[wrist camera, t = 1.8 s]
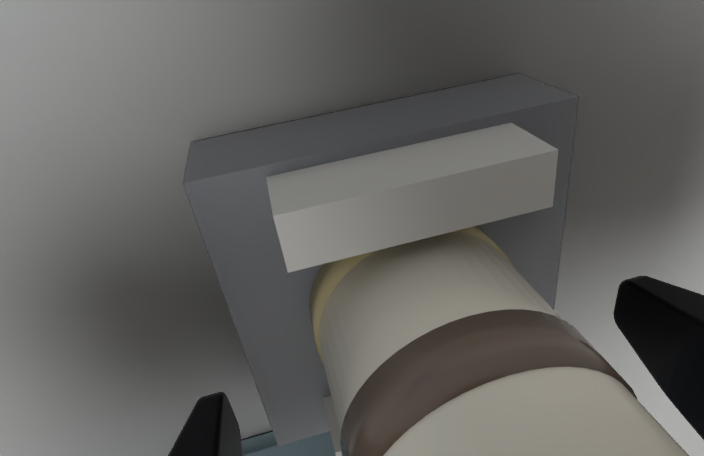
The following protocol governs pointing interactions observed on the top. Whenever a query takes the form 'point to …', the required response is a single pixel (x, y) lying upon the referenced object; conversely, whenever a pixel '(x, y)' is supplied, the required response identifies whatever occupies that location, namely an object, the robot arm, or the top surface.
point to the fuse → (465, 360)
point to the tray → (288, 446)
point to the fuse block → (372, 211)
